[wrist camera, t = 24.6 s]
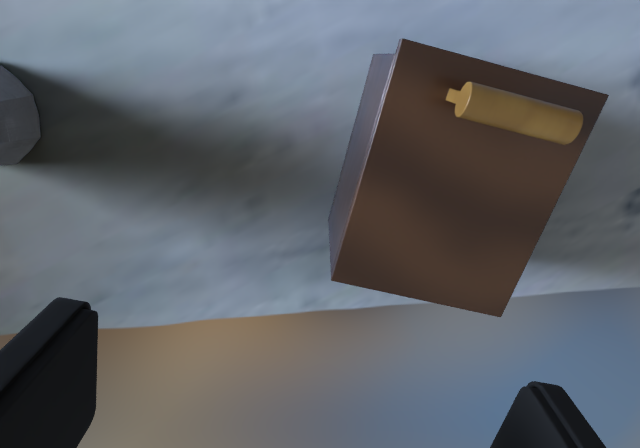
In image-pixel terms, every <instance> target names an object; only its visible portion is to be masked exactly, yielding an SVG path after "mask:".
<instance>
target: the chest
mask: <svg viewBox="0 0 640 448" xmlns="http://www.w3.org/2000/svg"><path fill="white" fill-rule="evenodd" d="M394 57H395V54H373V57H372V61H371V64H370V68H369V72H368V75H367V79H366V83H365V86H364V90H363V94H362V97H361V101H360V105H359V108H358V112H357V116H356V119H355V123H354V127H353V130H352V134H351V138H350V141H349V145H348V149H347V152H346V156H345V160H344V163H343V167H342V171H341V174H340V178H339V182H338V185H337V189H336V193H335V196H334V200H333V204H332V207H331V211H330V215H329V218H328V222H329V243H330V263H331V273H332V270H333V266H334V263H335V259H336V256H337V252H338V249H339V246H340V242H341V239H342V235H343V232H344V228H345V225H346V222H347V218H348V215H349V211H350V208H351V204H352V201H353V198H354V194H355V191H356V187H357V184H358V180H359V177H360V173H361V170H362V167H363V163H364V160H365V156H366V153H367V149H368V146H369V143H370V139H371V136H372V132H373V129H374V125H375V122H376V119H377V115H378V112H379V108H380V105H381V101H382V98H383V95H384V91H385V88H386V84H387V81H388V77H389V74H390V71H391V67H392V64H393V60H394Z"/></svg>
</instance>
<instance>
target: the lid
mask: <svg viewBox="0 0 640 448" xmlns="http://www.w3.org/2000/svg"><path fill="white" fill-rule="evenodd" d="M608 96H609V95H607V94H603V93H600V92H596V91H592V90H589V89H585V88H581V87H578V86H574V85H570V84H567V83H563V82H560V81H556V80H552V79H549V78H545V77H541V76H538V75H534V74H530V73H527V72H523V71H519V70H516V69H512V68H509V67H505V66H501V65H498V64H494V63H490V62H487V61H483V60H479V59H476V58H472V57H468V56H465V55H461V54H457V53H454V52H450V51H447V50H443V49H439V48H436V47H432V46H428V45H425V44H421V43H417V42H414V41H410V40H406V39H400V40H399V43H398V47H397V50H396V53H395V57H394V60H393V64H392V67H391V71H390V74H389V77H388V81H387V84H386V88H385V91H384V95H383V98H382V101H381V105H380V108H379V112H378V115H377V119H376V122H375V125H374V129H373V132H372V136H371V139H370V143H369V146H368V149H367V153H366V156H365V160H364V163H363V167H362V170H361V173H360V177H359V180H358V184H357V187H356V191H355V194H354V198H353V201H352V204H351V208H350V211H349V215H348V218H347V222H346V225H345V228H344V232H343V235H342V239H341V242H340V246H339V249H338V252H337V256H336V259H335V263H334V266H333V270H332V273H331V280H332V281H336V282H341V283H345V284H350V285H354V286H359V287H364V288H368V289H373V290H377V291H382V292H387V293H391V294H396V295H400V296H405V297H410V298H414V299H419V300H423V301H428V302H433V303H437V304H442V305H447V306H451V307H456V308H460V309H465V310H469V311H474V312H479V313H483V314H488V315H492V316H497V317H501V316H502V314H503V312H504V310H505V308H506V305H507V303H508V301H509V299H510V297H511V295H512V293H513V291H514V289H515V287H516V285H517V283H518V281H519V279H520V277H521V275H522V273H523V271H524V269H525V266H526V264H527V262H528V260H529V258H530V256H531V254H532V252H533V250H534V248H535V246H536V244H537V242H538V240H539V238H540V236H541V234H542V232H543V229H544V227H545V225H546V223H547V221H548V219H549V217H550V215H551V213H552V211H553V209H554V207H555V205H556V203H557V201H558V199H559V197H560V195H561V193H562V190H563V188H564V186H565V184H566V182H567V180H568V178H569V176H570V174H571V172H572V170H573V168H574V166H575V164H576V162H577V160H578V158H579V156H580V153H581V151H582V149H583V147H584V145H585V143H586V141H587V139H588V137H589V135H590V133H591V131H592V129H593V127H594V125H595V123H596V121H597V119H598V116H599V114H600V112H601V110H602V108H603V106H604V104H605V102H606V100H607V98H608Z"/></svg>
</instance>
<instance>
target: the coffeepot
mask: <svg viewBox="0 0 640 448" xmlns="http://www.w3.org/2000/svg"><path fill="white" fill-rule="evenodd" d="M40 138H41V134H40V119H39V113H38V110H37V106H36V104H35V102H34V97H33V94H32V93H31V92H30V91H29V90H28V89H27V88H26V87H25V86H24V85H23V84H22V82H21V81H20V80H19V79H18V78H17V77H15V76H14V75H13V74H12V73H10V72H9V71H8V70H6V69H5V68H3V67H2V66H1V65H0V166H2V165H11V164H17V163H18V162H19V161H20V160H21V159H22V158H23V157H24V156H25V155H26V154H27V153H28V152H29V151H30V150H31V149H32V148H33V146H34V145H35V144H36V142H37V141H38V140H39V139H40Z"/></svg>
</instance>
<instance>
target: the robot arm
mask: <svg viewBox="0 0 640 448" xmlns="http://www.w3.org/2000/svg"><path fill="white" fill-rule="evenodd" d="M97 336H98V313H97V312H96V311H93V310H91V307H90V304H89V303H88V302H84V301H78V300H73V299H67V298H61V297H59V298H56V299H55V300H53V301H52V302H51V303H50V304H49V305H48V306H47V307H46V308H45V309H44V310H42V311H41V312H40V313H39V314H38V315H37V316H36V317H35V318H34V319H33V320H32V321H31V322H30V323H29V324H28V325H26V326H25V327H24V328H23V329H22V330H21V331H20V332H19V333H18V334H17V335H16V336H15V337H14V338H13V339H12V340H11V341H9V342H8V343H7V344H6V345H5V346H4V347H3V348H2V349H1V350H0V448H77V446H78V444H79V443H80V441H81V439H82V438H83V436H84V434H85V433H86V431H87V429H88V428H89V426H90V424H91V422H92V420H93V417H94V414H95V409H96V381H97V379H96V378H97V339H98V337H97ZM490 448H606V447H605V445H604V444H603V442H602V441H601V440H600V438H599V437H598V436H597V434H596V433H595V431H594V430H593V429H592V427H591V426H590V425H589V423H588V422H587V420H585V418H584V416H583V415H582V414H581V412H580V411H579V410H578V408H577V407H576V405H575V404H574V403H573V401H572V400H571V399H570V397H569V396H568V394H567V393H566V392H565V390H563V388H562V387H560V386H558V385H552V384H547V383H541V382H536V381H534V382H530V383H529V384H528V385H527V386H526V387H522V388H521V389H520V391H519V393H518V395H517V397H516V398H515V400H514V403H513V404H512V406H511V408H510V410H509V412H508V414H507V416H506V418H505V420H504V422H503V424H502V426H501V428H500V430H499V432H498V433H497V435H496V437H495V439H494V441H493V443H492V445H491V447H490Z"/></svg>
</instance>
